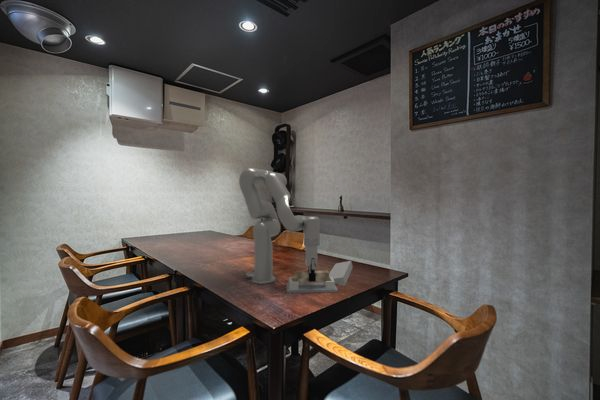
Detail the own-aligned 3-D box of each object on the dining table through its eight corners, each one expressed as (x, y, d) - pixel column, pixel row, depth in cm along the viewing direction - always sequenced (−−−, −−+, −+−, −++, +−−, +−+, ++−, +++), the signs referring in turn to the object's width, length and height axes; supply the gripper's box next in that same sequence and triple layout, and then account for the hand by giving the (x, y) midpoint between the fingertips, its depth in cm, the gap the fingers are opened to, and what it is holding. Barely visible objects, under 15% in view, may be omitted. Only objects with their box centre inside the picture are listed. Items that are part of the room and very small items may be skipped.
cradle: (286, 292, 121) (286, 283, 121) (286, 285, 131) (286, 276, 131) (337, 291, 123) (337, 282, 122) (333, 284, 133) (333, 275, 132)
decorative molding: (326, 289, 134) (345, 286, 131) (324, 280, 134) (343, 277, 131) (337, 270, 166) (353, 268, 163) (335, 263, 166) (351, 260, 163)
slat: (295, 282, 124) (295, 274, 124) (295, 279, 128) (295, 271, 128) (329, 280, 125) (329, 272, 125) (327, 278, 129) (327, 270, 129)
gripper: (302, 239, 134) (302, 274, 135) (305, 245, 118) (305, 285, 118) (317, 239, 135) (317, 274, 135) (322, 245, 118) (321, 285, 118)
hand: (311, 279), depth 127 cm, fingers closed on slat, 4 cm apart
